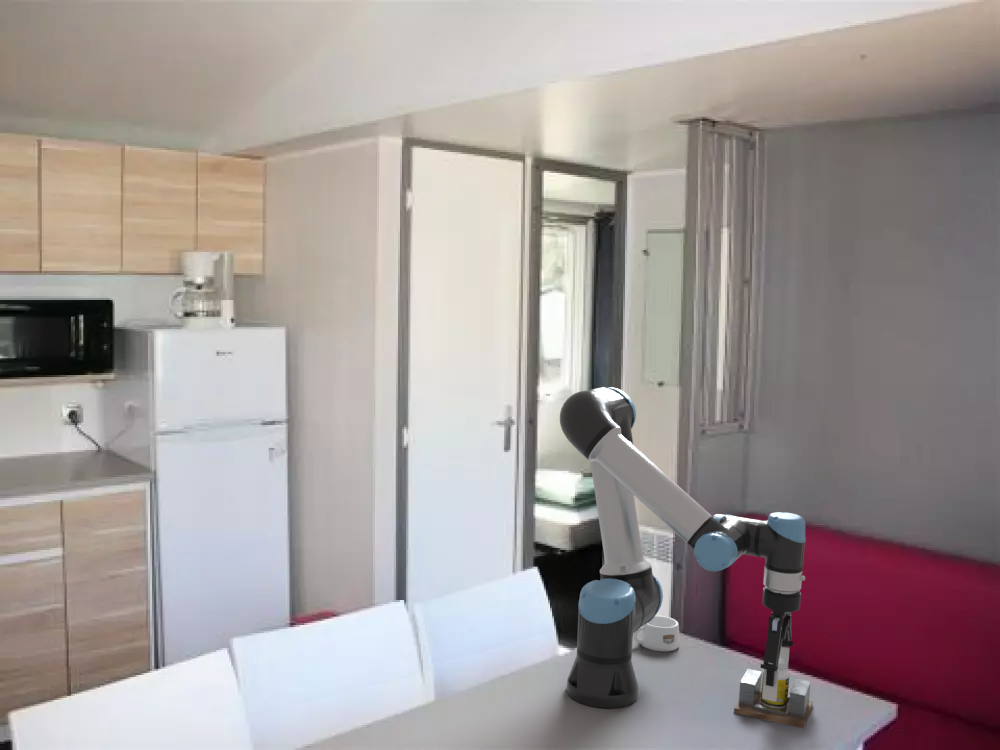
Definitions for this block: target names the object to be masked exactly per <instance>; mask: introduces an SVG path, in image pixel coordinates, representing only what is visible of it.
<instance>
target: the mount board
mask: <svg viewBox="0 0 1000 750" xmlns="http://www.w3.org/2000/svg"><path fill="white" fill-rule="evenodd" d="M756 704H758V705H762V706H764V705H763V704H762V703H761V693H760V696H759V698H758V700H757V702H756ZM812 709H813V700H809V705H808V708H807V711H806V713H805V716H804V719H799V718H795V717H790V716H787V717H784V716H779V715H775V714H770V713H766V712H761V711H757V710H753V708H750V707H745V706H741V705H739V699H738V701H737V703H736V704H735V705H734V708H733V713H734V714H738V715H742V716H747V717H750V718H756V719H759V720H764V721H768V722H773V723H777V724H782V725H787V726H791V727H794V728H800V729H805V727H806V724H807V722H808V718H809V717H810V713H811V711H812ZM781 710H785V711H788V710H789V701H788V702H787V707H786V708H784V709H781Z"/></svg>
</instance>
